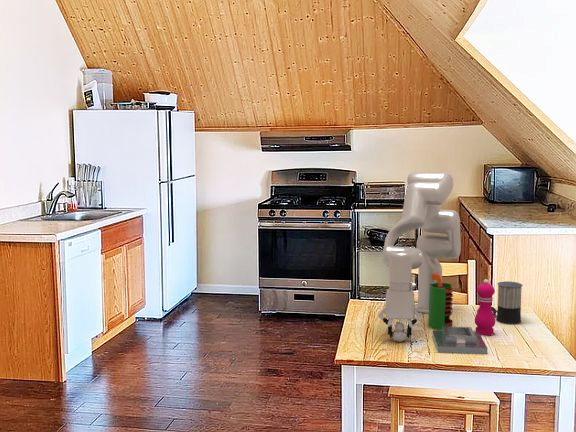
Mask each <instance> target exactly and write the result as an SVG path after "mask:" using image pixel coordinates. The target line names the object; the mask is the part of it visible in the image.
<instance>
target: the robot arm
mask: <svg viewBox="0 0 576 432" xmlns="http://www.w3.org/2000/svg"><path fill="white" fill-rule="evenodd" d="M406 180H407V181H406V182H407V185H408V186H407V187H406V191H405V196H404V200H403V201H404V202H403V207H402V212H401V217H400V218H401V219H400V220H399V221H398V222H397V223H395V224H394V225H393V226H392V228H390V229H389V231H388V233H387V234H386V237H385V239H384V244H383V245H384V246H383V250H382V263H383V264H384V265H385V266H387V267H389V276H388V277H389V280H388V281H389V288H387V289H386V292H385V304H384V308H383V309H382V310H381V311H380V312H379V313H378V314H377V317H378V319H381V320H382V322H383V323H384V324H385V325H386V326H387V335H389V338H390V339H392V338H393V337H392V332H393V325H392V323H393V320H406V321H407V325H406V327H407V329H406V332H407V334H408V335H407V338H406V339H410V338H411V336H412V328H413V327H414V325H415V324H417V322H419V321H420V320H421V319H422V318H423V316H422V314H429V291H430V284H432V283H438V281H437V280H432V274H435V273H437V274H439V275H440V276H441V280H442V281H443V267H442V264H441V263H440V261H439V260H438V259H451V260H455V259H458V258H459V257H460V255H461V252H462V248H461V247H462V241H461V239H462V238H461V219H460V215H459V213H458V212H457V211H456V210H452V209H442V208H441V206H443V205H444V204H445V203H446V201H447V200H448V198H449V196H450V195H451V193H452V192H453V188H454V178H453V175H452V174H451V173H448V172H430V171H415V172H414V171H413V172H411V173H409V174H408V175H407V179H406ZM419 228H420V230H421V231H423V232H425V234H421V235H419V236H418V237H417V239H416V247H407V246H397V245H395V243H396V241H397V240H398V239H400V237H401V236H403V235H405V234H406V233H409V232H411V231H415V230H418V229H419ZM394 245H395V246H394ZM417 269H418V273H417V274H418V276H417V277H418V278H417V280H418V283H417V284H418V285H417V284H416V283H414V282H412V270H417ZM416 285H417V304H416V301H415V292H414V290H413V288H416ZM421 313H422V314H421ZM384 315H385V316H384Z"/></svg>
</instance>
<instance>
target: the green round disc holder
mask: <svg viewBox="0 0 576 432" xmlns="http://www.w3.org/2000/svg"><path fill="white" fill-rule="evenodd" d="M432 280H437V281H438V283H432V284H430V291H429V313H428V322H427V326H428V328H431V329H432V330H442V326H452V327H453V323H454V322H453V320H452V319H451V316H452V315H453V312H452V311H453V307H452V306H453V305H454V304H453V300H454V298H453V297H454V294H453V292H454V289H453V288H452V283H450V282H443V279H442V280H441V276H440V275H439V274H437V273H435V274H432Z"/></svg>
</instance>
